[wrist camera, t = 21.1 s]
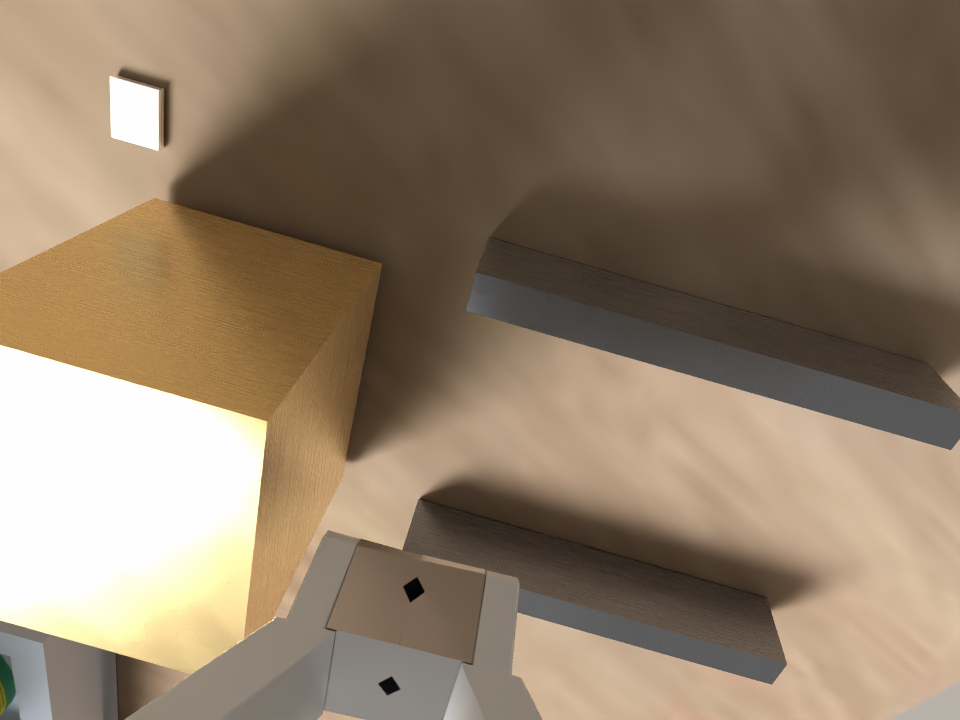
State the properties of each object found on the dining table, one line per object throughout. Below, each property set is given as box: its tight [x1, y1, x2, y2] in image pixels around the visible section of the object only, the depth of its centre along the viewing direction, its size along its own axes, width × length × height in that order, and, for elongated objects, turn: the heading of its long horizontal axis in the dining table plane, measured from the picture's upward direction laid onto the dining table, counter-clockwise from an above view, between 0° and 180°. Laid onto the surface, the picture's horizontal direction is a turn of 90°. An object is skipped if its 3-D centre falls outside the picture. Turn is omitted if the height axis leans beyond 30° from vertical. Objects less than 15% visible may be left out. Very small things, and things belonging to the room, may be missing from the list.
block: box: [0, 198, 382, 674], centre depth 13 cm, size 6×5×6 cm
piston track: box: [110, 75, 960, 685], centre depth 15 cm, size 10×18×2 cm, turn 76°
